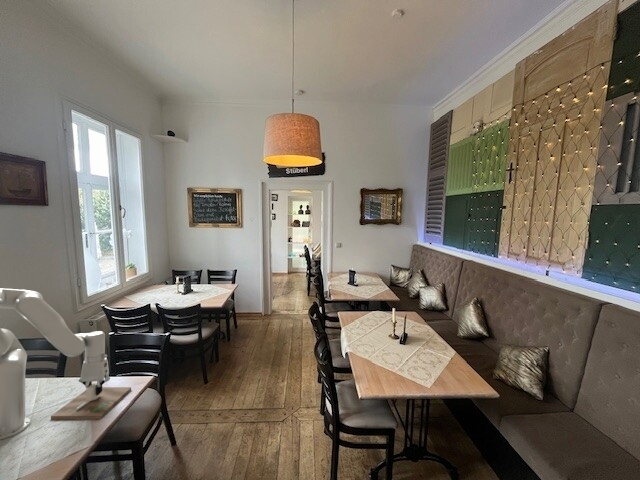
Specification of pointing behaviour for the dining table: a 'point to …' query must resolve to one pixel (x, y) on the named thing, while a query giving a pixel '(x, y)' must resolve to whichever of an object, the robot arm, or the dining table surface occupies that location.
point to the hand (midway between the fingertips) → (94, 393)
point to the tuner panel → (92, 404)
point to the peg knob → (90, 394)
